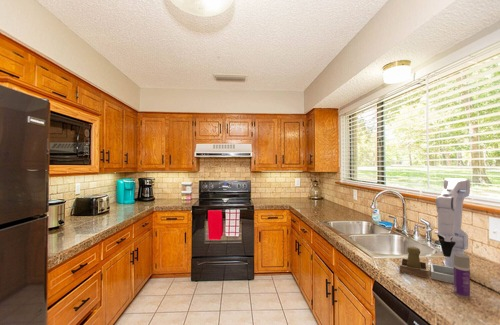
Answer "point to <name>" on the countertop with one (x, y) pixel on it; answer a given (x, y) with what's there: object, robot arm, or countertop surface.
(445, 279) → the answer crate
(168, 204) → the countertop surface
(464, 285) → the container
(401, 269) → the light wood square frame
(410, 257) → the olive rounded piece
